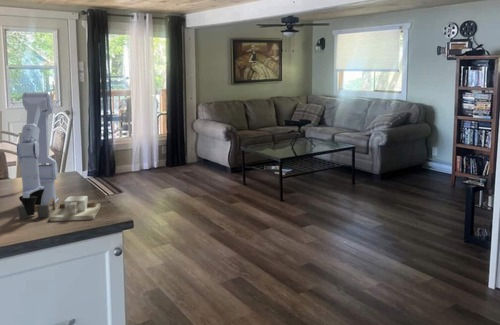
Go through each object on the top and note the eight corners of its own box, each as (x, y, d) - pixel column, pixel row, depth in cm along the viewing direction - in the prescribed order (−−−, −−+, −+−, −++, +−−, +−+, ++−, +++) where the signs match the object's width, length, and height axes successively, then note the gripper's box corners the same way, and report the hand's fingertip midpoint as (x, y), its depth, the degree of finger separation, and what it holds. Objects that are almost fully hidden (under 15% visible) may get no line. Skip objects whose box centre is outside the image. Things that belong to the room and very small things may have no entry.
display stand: (50, 221, 170) (48, 206, 168) (60, 208, 184) (59, 194, 183) (93, 219, 172) (92, 204, 171) (100, 206, 186) (99, 193, 185)
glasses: (19, 218, 172) (18, 206, 171) (28, 209, 182) (27, 198, 181) (48, 217, 173) (47, 205, 172) (55, 208, 184) (54, 197, 183)
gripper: (36, 179, 164) (39, 217, 167) (47, 170, 178) (50, 205, 181) (14, 180, 163) (18, 218, 166) (27, 170, 177) (31, 206, 180)
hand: (33, 211), depth 173 cm, fingers open, 7 cm apart
